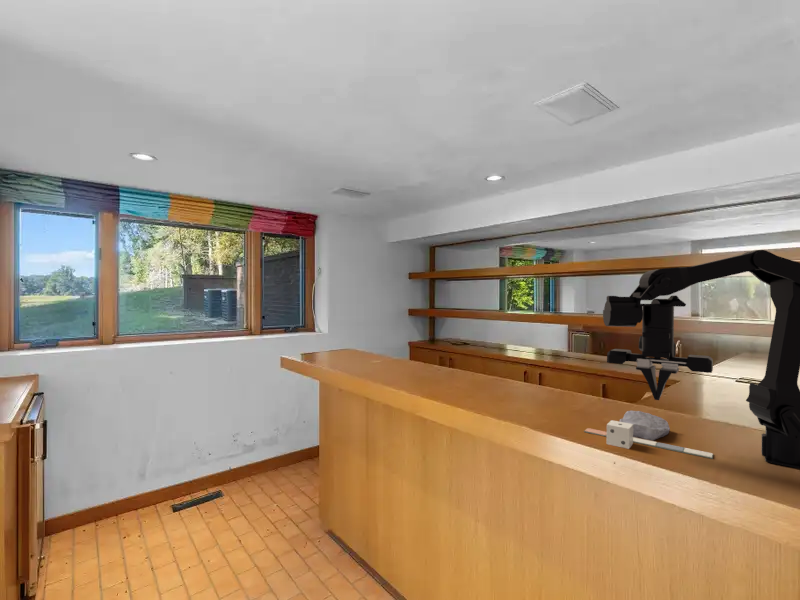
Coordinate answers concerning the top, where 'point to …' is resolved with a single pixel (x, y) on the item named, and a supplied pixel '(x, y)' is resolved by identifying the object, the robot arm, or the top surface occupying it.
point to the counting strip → (658, 445)
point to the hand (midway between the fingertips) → (657, 399)
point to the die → (619, 434)
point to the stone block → (646, 425)
